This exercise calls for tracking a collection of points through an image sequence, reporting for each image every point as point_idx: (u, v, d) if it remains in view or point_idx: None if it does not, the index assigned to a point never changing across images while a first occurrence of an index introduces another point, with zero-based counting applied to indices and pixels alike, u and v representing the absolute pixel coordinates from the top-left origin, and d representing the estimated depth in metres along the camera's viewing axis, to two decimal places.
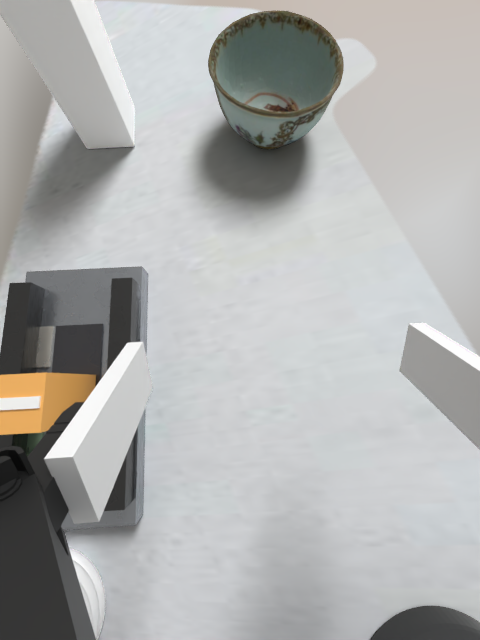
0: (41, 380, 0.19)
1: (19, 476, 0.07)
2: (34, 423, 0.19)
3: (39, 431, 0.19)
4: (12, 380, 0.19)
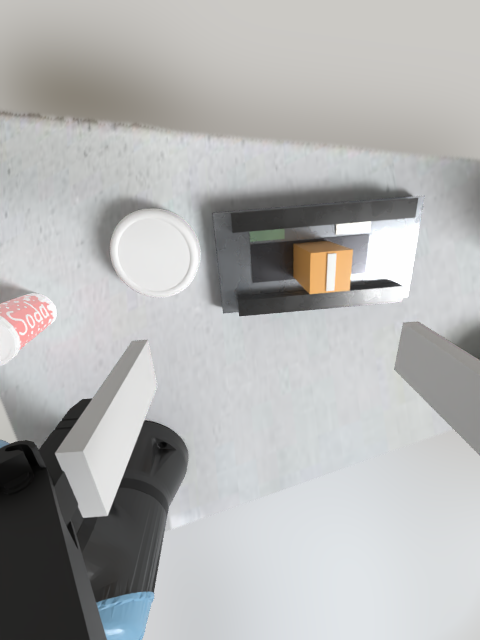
0: (344, 288, 0.27)
1: (31, 470, 0.07)
2: (315, 289, 0.27)
3: (310, 293, 0.27)
4: (347, 268, 0.26)
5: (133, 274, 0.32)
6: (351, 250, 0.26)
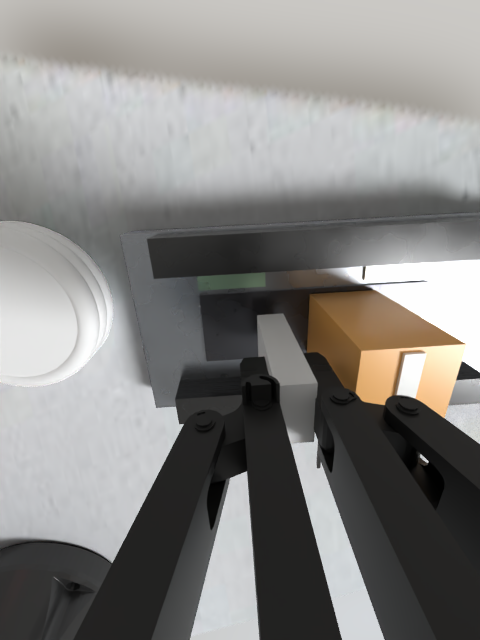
0: None
1: (270, 399, 0.09)
2: None
3: None
4: (445, 382, 0.11)
5: None
6: (462, 346, 0.10)
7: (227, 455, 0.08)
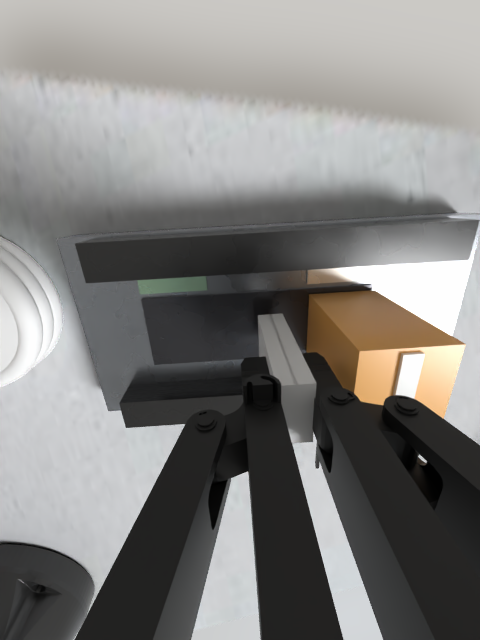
0: None
1: (272, 399, 0.09)
2: None
3: None
4: (444, 383, 0.11)
5: None
6: (461, 346, 0.10)
7: (229, 455, 0.08)
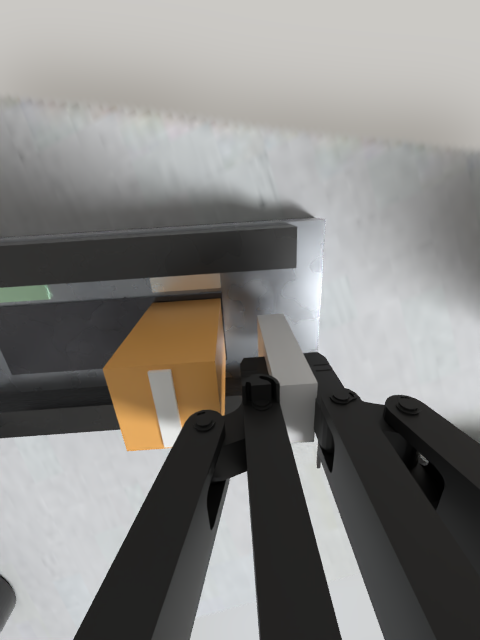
0: None
1: (270, 399, 0.09)
2: (139, 441, 0.11)
3: (128, 448, 0.11)
4: (208, 400, 0.11)
5: None
6: (211, 363, 0.10)
7: (228, 455, 0.08)
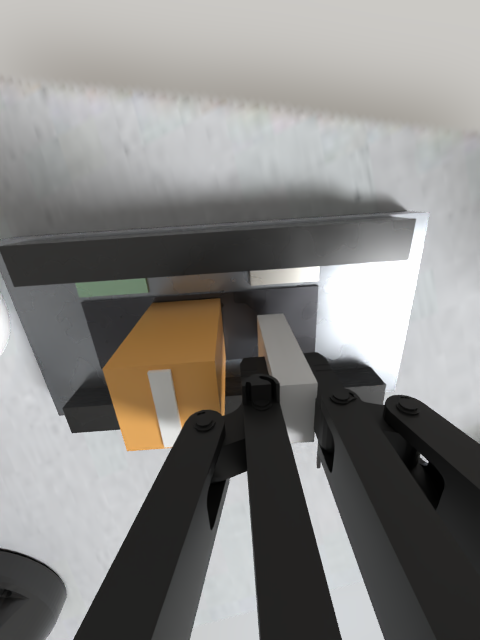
0: None
1: (270, 399, 0.09)
2: (139, 441, 0.11)
3: (128, 448, 0.11)
4: (208, 400, 0.11)
5: None
6: (211, 362, 0.10)
7: (228, 455, 0.08)
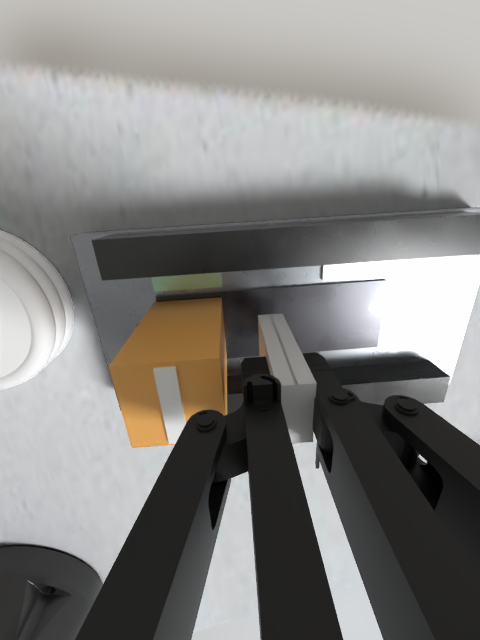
0: None
1: (271, 399, 0.09)
2: (144, 438, 0.11)
3: (133, 445, 0.12)
4: (212, 397, 0.11)
5: None
6: (215, 359, 0.10)
7: (229, 454, 0.08)
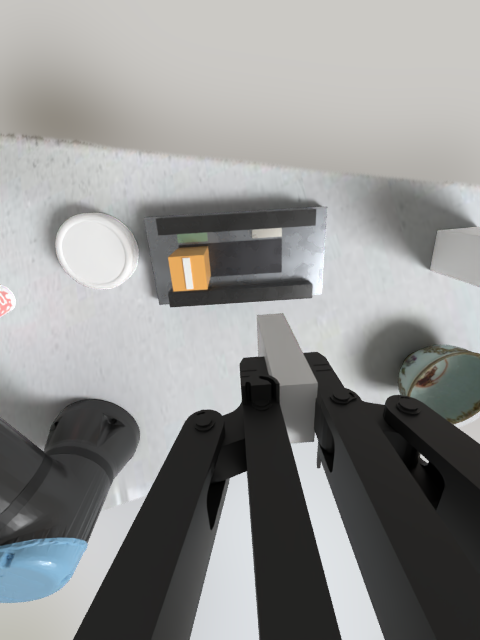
0: (202, 287, 0.32)
1: (270, 399, 0.09)
2: (177, 287, 0.32)
3: (173, 290, 0.32)
4: (201, 270, 0.32)
5: (76, 268, 0.37)
6: (202, 255, 0.31)
7: (227, 455, 0.08)
